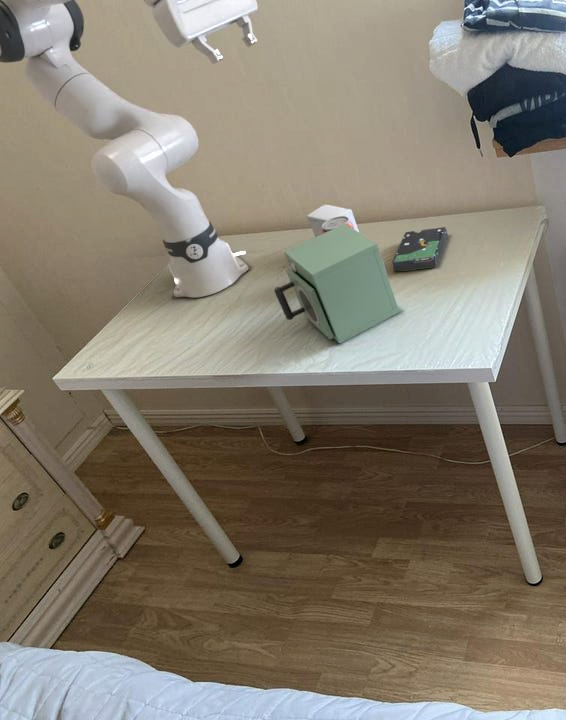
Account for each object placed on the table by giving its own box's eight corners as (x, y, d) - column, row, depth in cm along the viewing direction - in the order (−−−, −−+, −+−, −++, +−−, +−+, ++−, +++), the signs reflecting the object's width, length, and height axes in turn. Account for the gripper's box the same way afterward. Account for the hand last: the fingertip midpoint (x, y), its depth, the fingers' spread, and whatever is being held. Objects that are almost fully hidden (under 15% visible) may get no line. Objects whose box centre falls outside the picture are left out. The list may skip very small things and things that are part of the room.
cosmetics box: (320, 253, 174) (305, 215, 168) (338, 241, 178) (325, 203, 172) (346, 260, 168) (332, 220, 162) (365, 247, 172) (352, 208, 165)
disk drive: (407, 242, 169) (394, 273, 158) (404, 232, 168) (390, 262, 156) (448, 236, 167) (438, 267, 155) (446, 226, 165) (435, 256, 154)
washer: (338, 344, 138) (310, 275, 129) (309, 318, 149) (282, 252, 140) (399, 312, 143) (377, 243, 134) (367, 288, 154) (344, 223, 145)
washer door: (311, 349, 136) (290, 301, 130) (287, 324, 146) (267, 279, 139) (333, 337, 138) (314, 289, 131) (309, 314, 148) (289, 268, 141)
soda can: (363, 279, 158) (344, 228, 151) (334, 282, 160) (314, 231, 153) (372, 263, 164) (355, 213, 156) (344, 266, 166) (326, 216, 158)
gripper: (217, -31, 130) (262, 41, 135) (134, 0, 116) (188, 79, 122) (236, -47, 126) (281, 28, 131) (152, -18, 112) (207, 64, 118)
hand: (236, 53), depth 127 cm, fingers open, 8 cm apart
